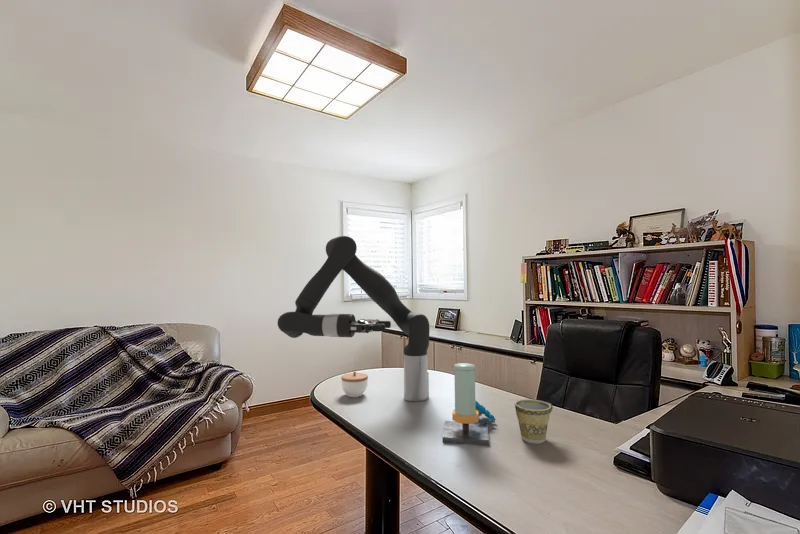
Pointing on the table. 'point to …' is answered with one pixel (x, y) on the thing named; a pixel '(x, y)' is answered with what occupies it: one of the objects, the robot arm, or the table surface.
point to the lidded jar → (354, 384)
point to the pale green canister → (465, 389)
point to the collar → (465, 418)
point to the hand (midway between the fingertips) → (387, 326)
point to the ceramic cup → (533, 419)
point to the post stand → (465, 433)
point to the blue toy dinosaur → (483, 411)
